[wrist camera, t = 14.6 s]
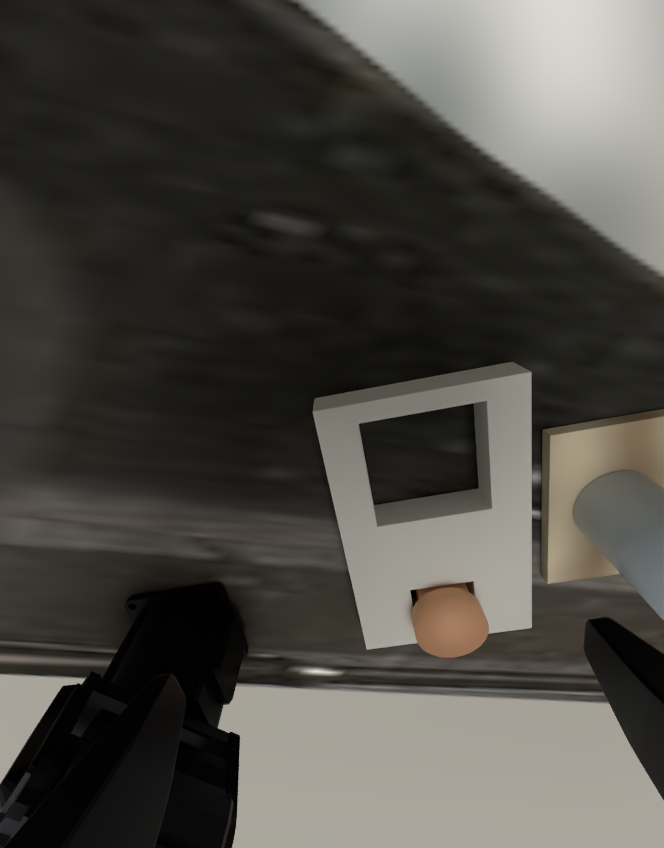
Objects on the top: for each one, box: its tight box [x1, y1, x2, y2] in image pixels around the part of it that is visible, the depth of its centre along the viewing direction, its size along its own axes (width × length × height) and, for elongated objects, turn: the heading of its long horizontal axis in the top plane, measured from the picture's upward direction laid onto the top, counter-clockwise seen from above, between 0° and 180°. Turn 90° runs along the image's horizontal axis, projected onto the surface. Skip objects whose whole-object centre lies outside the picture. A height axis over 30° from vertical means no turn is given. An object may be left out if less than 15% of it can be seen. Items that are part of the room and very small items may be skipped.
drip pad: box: [541, 409, 664, 584], centre depth 22 cm, size 7×10×1 cm
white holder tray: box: [313, 362, 532, 649], centre depth 21 cm, size 10×16×2 cm, turn 11°
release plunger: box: [411, 582, 489, 658], centre depth 22 cm, size 4×4×3 cm
